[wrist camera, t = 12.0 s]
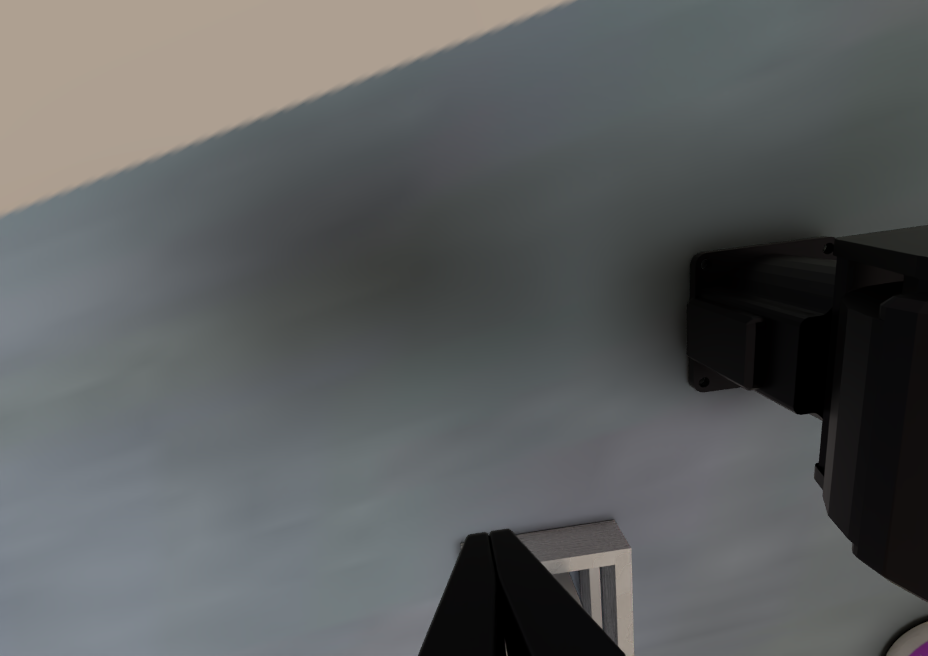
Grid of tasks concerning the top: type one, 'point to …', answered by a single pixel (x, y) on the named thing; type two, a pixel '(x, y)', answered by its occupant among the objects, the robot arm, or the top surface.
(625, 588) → the rack
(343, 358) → the top surface
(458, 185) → the top surface
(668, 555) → the top surface
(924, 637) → the supplement bottle
